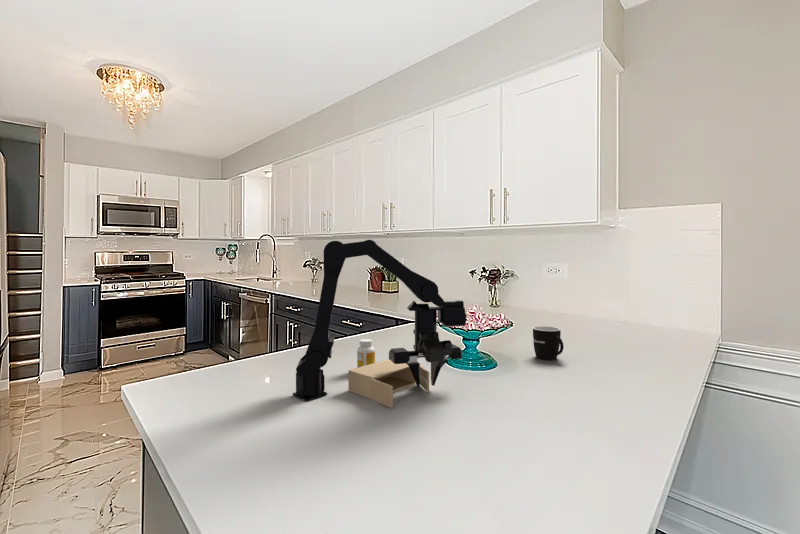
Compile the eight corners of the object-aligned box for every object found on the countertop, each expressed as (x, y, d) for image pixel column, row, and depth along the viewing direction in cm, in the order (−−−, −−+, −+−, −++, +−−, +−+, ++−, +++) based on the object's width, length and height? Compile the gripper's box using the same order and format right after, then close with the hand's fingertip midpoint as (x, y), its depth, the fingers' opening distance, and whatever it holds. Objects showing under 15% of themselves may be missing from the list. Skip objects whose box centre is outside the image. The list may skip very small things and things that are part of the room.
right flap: (429, 391, 109) (429, 372, 109) (427, 391, 109) (427, 372, 109) (419, 382, 117) (419, 364, 116) (417, 382, 116) (417, 364, 116)
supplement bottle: (376, 369, 131) (376, 338, 131) (373, 374, 126) (373, 342, 125) (359, 369, 131) (359, 338, 131) (355, 374, 126) (355, 341, 126)
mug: (527, 356, 147) (527, 327, 147) (547, 353, 151) (547, 325, 150) (551, 364, 136) (552, 333, 136) (572, 361, 139) (573, 331, 139)
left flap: (371, 399, 104) (371, 379, 104) (373, 398, 104) (372, 378, 104) (391, 407, 98) (391, 386, 98) (393, 406, 99) (392, 385, 98)
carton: (373, 399, 105) (373, 377, 104) (348, 390, 111) (348, 370, 111) (415, 384, 116) (415, 364, 116) (390, 377, 123) (390, 358, 123)
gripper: (400, 335, 100) (400, 400, 101) (471, 330, 106) (471, 392, 106) (388, 327, 111) (388, 385, 111) (453, 323, 116) (453, 379, 117)
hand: (425, 386), depth 111 cm, fingers open, 4 cm apart
